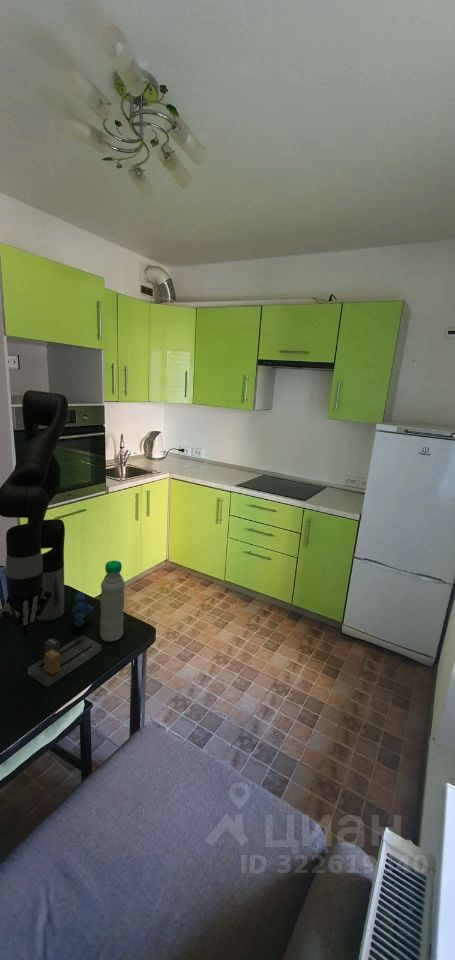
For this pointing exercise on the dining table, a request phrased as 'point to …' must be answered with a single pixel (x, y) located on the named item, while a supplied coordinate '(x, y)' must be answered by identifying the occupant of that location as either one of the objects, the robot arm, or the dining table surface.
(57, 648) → the fader
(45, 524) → the robot arm
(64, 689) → the dining table surface
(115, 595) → the water bottle
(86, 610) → the grapes
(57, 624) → the dining table surface
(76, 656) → the console
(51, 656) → the fader
